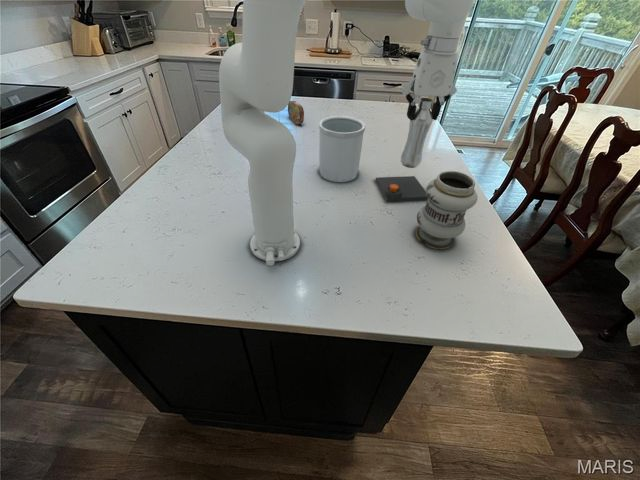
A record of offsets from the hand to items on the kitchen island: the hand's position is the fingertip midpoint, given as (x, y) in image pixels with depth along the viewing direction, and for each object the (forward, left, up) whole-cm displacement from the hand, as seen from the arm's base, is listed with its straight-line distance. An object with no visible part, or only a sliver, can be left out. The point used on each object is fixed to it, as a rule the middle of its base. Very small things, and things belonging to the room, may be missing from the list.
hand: (421, 118), depth 85 cm
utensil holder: (+11, +21, -23) cm, 33 cm away
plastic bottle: (0, 0, -15) cm, 15 cm away
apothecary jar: (-26, +1, -23) cm, 35 cm away
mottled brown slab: (+62, +32, -23) cm, 73 cm away
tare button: (-6, +6, -20) cm, 22 cm away
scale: (-2, +2, -23) cm, 23 cm away
